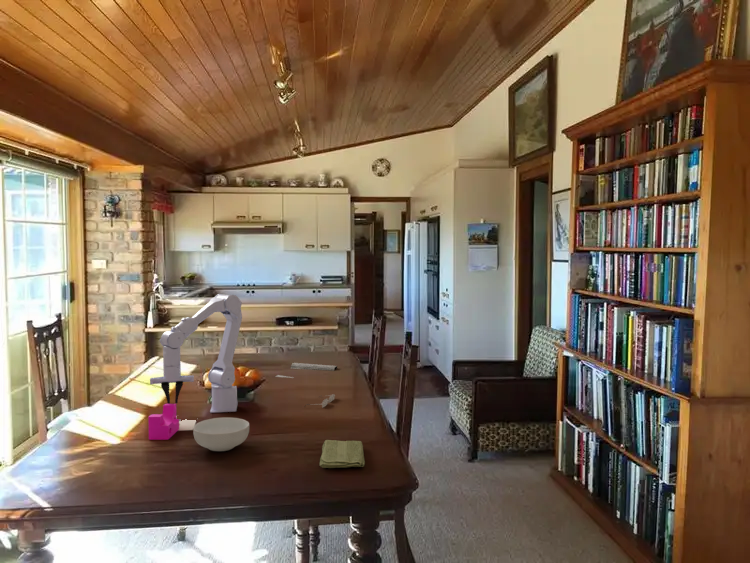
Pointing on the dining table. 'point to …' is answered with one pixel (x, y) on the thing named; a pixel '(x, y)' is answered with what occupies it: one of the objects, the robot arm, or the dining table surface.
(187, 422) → the white flat panel
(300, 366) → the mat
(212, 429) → the cereal bowl
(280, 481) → the dining table surface
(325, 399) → the eyeglasses
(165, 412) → the toy block
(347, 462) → the washcloth
